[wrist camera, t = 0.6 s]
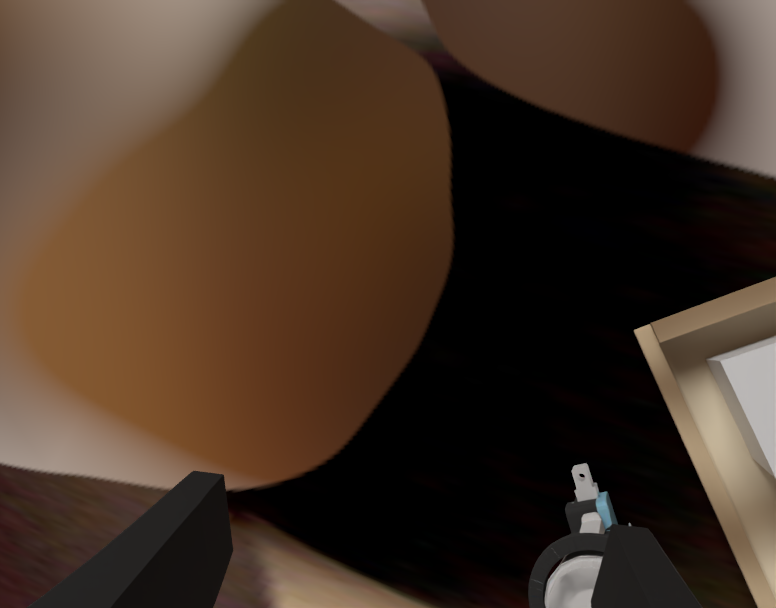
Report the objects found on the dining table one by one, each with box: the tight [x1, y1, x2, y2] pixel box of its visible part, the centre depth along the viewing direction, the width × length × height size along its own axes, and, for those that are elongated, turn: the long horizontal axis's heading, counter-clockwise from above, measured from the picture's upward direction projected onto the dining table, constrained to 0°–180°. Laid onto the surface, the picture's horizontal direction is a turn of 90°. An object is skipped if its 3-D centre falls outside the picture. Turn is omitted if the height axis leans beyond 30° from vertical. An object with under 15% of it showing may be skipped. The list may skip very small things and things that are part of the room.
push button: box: [528, 463, 631, 608], centre depth 27 cm, size 7×5×10 cm
